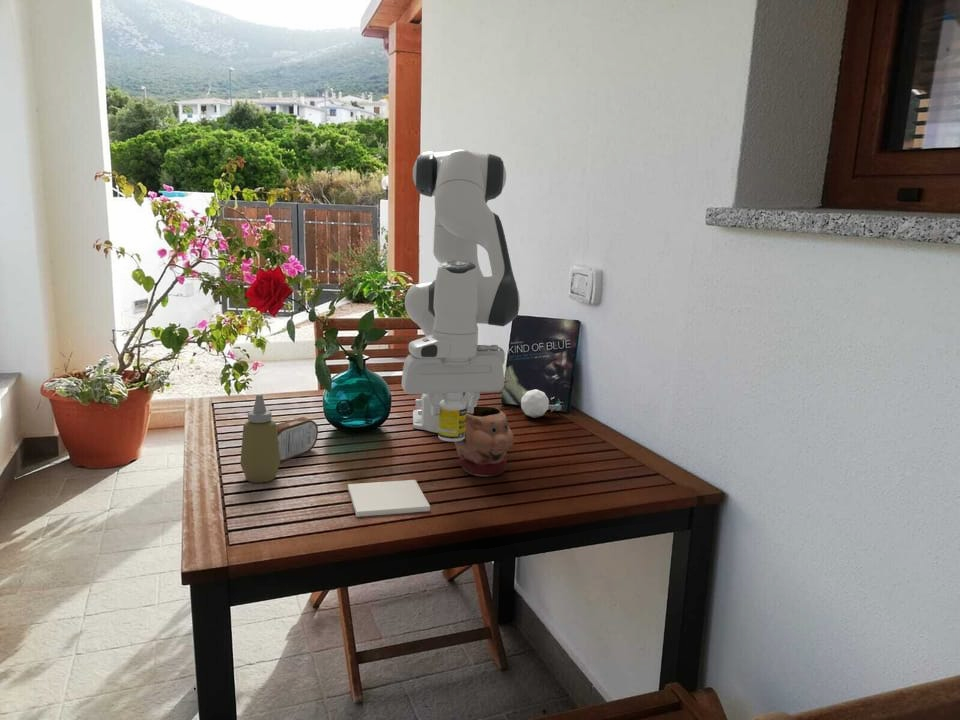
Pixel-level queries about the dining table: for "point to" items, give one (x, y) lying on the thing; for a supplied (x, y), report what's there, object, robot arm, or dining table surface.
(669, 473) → the dining table surface
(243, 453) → the squeeze bottle
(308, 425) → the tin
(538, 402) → the perfume bottle
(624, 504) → the dining table surface
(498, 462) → the decorative planter
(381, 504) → the tile
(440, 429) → the supplement bottle
